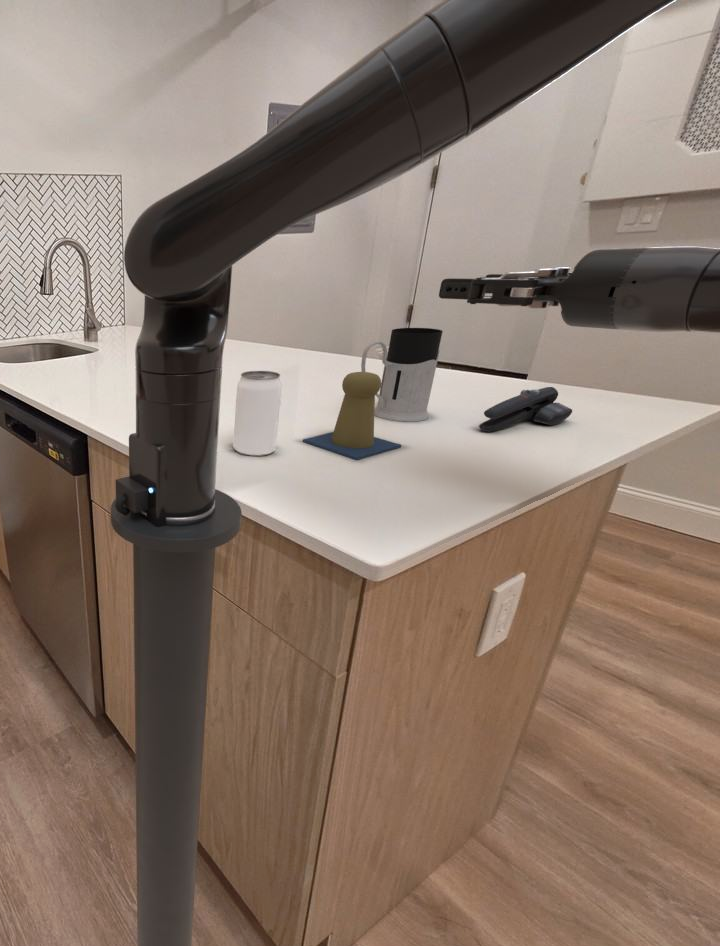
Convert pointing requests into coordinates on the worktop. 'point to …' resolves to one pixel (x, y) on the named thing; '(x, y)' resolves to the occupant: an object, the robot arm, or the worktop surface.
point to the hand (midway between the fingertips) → (463, 286)
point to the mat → (354, 453)
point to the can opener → (526, 409)
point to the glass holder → (407, 373)
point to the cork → (357, 411)
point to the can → (257, 413)
